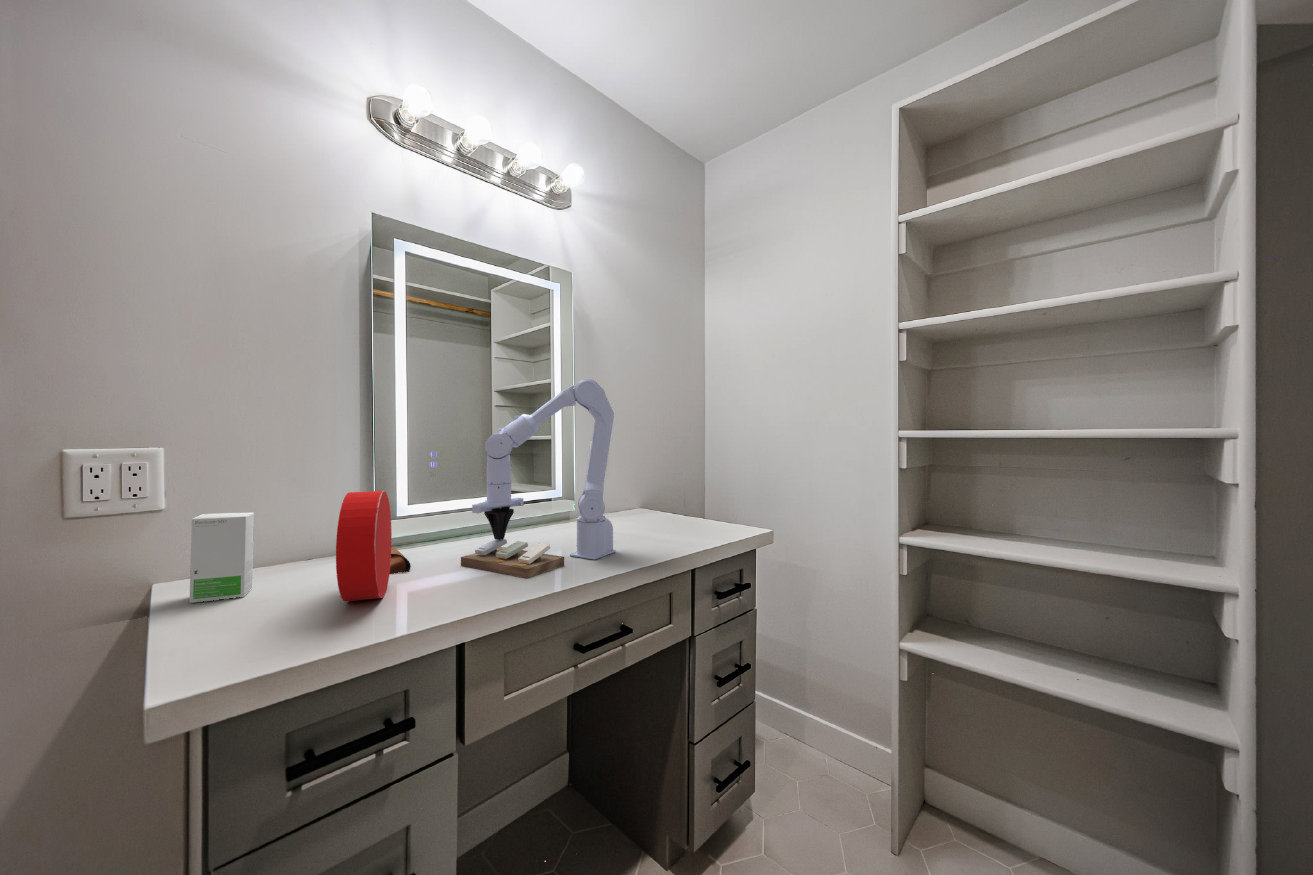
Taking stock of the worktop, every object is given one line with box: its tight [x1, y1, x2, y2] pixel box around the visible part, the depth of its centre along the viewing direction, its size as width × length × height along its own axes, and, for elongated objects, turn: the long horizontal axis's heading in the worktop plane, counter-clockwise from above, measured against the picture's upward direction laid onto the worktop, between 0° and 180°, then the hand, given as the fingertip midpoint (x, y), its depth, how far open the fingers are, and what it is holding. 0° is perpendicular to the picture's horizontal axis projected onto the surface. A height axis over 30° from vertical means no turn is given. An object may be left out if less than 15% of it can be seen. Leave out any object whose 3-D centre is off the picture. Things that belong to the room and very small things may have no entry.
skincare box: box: [189, 512, 255, 604], centre depth 96 cm, size 8×7×16 cm
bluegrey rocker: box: [474, 538, 508, 555], centre depth 121 cm, size 7×3×1 cm, turn 150°
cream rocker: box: [518, 542, 551, 564], centre depth 114 cm, size 7×3×1 cm, turn 150°
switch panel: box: [460, 546, 565, 579], centre depth 118 cm, size 12×21×3 cm, turn 60°
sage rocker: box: [496, 540, 529, 559], centre depth 118 cm, size 7×3×1 cm, turn 150°
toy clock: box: [335, 490, 392, 603], centre depth 95 cm, size 20×6×20 cm, turn 21°
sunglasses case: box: [389, 545, 412, 575], centre depth 118 cm, size 18×7×7 cm, turn 39°
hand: (499, 538), depth 123 cm, fingers closed
